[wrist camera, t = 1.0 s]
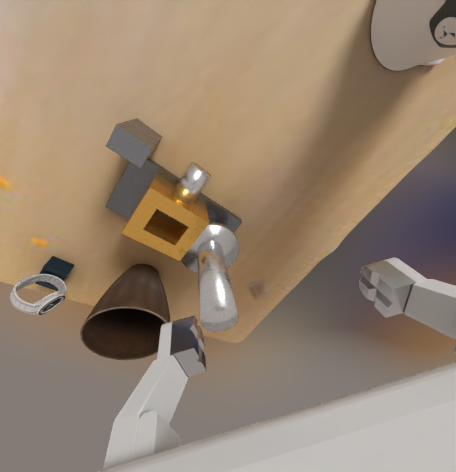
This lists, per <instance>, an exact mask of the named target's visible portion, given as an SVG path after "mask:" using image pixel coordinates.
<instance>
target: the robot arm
mask: <svg viewBox="0 0 456 472" xmlns="http://www.w3.org/2000/svg"><path fill="white" fill-rule="evenodd" d="M371 41H372V47H373V50H374V53H375V55H376V57H377V59H378V61H379V62H380V63H381V64H382V65H383V66H384V67H386V68H388V69H390V70H395V71H401V70H406V69H409V68H412V67H414V66H417V65H425V66H432V65H436V64H439V63H440V62H442V60H443V59H444V58H447V57H450V56H454V55H456V0H377V1H376V4H375V7H374V11H373V16H372V24H371ZM360 273H361V274H362V275H363V276H362V277H361V278H360V280H359V287H360V290H361V292H362V293H363V295H364V296H365V297H366V298H367V299H369V300H371V301H374V306H375V307H376V308H377V309H378V310H379V312H380V313H381V314H382V315H383V316H384V317H390V316H394V315H397V314H401V313H404V314H405V315H407V316H409V317H411V318H413V319H415V320H418V321H419V322H421V323H423V324H425V325H427V326H429V327H431V328H433V329H435V330H437V331H439V332H441V333H443V334H445V335H447V336H449V337H451V338H453V339H455V340H456V286H454V285H451V284H447V283H444V282H440V281H437V280H434V279H429V280H428V279H426V278H425V277H423V276H422V275H420V274H419V273H418V272H416V271H415V270H413V269H412V268H411V267H409V266H408V265H406V264H405V263H403V262H402V261H400V260H399V259H397V258H391V259H387V260H384V261H380V262H376V263H373V264H370V265H367V266H363V267H362V268H361V272H360ZM203 349H204V338H203V333H202V330H201V328H200V326H198V325H197V319H196V317H195V316H191V317H187V318H184V319H180V320H176V321H173V322H169V323H165V324H162V326H161V330H160V338H159V347H158V355H157V360H154V361H153V362H152V364H151V365H150V367H149V369H148V370H147V372H146V373H145V375H144V376H143V378H142V379H141V381H140V382H139V384H138V385H137V387H136V389H135V390H134V391H133V393H132V395H131V396H130V398H129V399H128V401H127V402H126V404H125V405H124V407H123V408H122V410H121V411H120V413H119V414H118V416H117V417H116V419H115V420H114V424H113V429H112V433H111V437H110V441H109V446H108V450H107V454H106V459H105V463H104V467H103V470H102V471H98V472H456V362H453V363H450V364H446V365H443V366H440V367H437V368H433V369H430V370H427V371H423V372H420V373H417V374H414V375H411V376H407V377H404V378H401V379H397V380H394V381H391V382H388V383H385V384H381V385H378V386H375V387H372V388H368V389H365V390H362V391H358V392H355V393H352V394H349V395H345V396H342V397H339V398H336V399H332V400H329V401H326V402H323V403H319V404H316V405H313V406H309V407H306V408H303V409H300V410H297V411H294V412H290V413H287V414H283V415H280V416H277V417H274V418H270V419H268V420H264V421H261V422H258V423H254V424H251V425H248V426H244V427H242V428H238V429H235V430H232V431H228V432H225V433H222V434H219V435H215V436H212V437H209V438H206V439H202V440H199V441H196V442H193V443H189V444H186V445H183V446H180V437H179V436H178V434H177V433H176V432H175V431H174V430H173V429H172V428H171V427H170V426H169V423H170V420H171V418H172V416H173V414H174V411H175V409H176V406H177V404H178V402H179V399H180V397H181V394H182V392H183V389H184V387H185V385H186V382H187V380H188V377H190V376H193V375H196V374H199V373H202V372H205V371H206V359H205V355H204V352H203V351H202V350H203ZM454 353H455V354H456V347H455V348H454Z"/></svg>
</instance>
